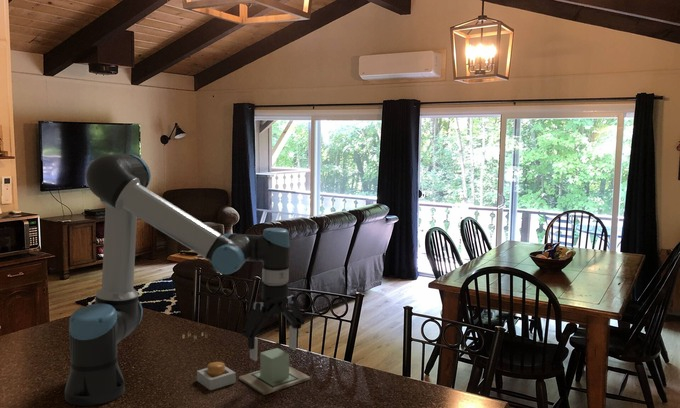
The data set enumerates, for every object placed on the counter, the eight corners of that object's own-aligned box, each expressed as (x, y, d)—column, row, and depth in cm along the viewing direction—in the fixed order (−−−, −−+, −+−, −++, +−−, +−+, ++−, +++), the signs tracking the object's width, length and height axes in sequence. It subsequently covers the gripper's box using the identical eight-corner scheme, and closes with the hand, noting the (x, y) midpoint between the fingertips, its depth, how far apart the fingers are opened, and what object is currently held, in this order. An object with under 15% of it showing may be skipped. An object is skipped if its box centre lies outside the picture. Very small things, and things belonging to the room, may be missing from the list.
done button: (212, 380, 161) (212, 369, 161) (204, 374, 165) (204, 364, 164) (227, 375, 164) (227, 365, 164) (219, 370, 168) (219, 360, 168)
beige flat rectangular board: (264, 394, 157) (264, 391, 157) (239, 379, 167) (239, 376, 167) (309, 379, 168) (310, 376, 168) (283, 365, 177) (283, 362, 177)
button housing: (210, 390, 159) (210, 380, 159) (196, 380, 165) (196, 370, 165) (235, 382, 164) (235, 372, 164) (221, 373, 170) (221, 363, 170)
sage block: (271, 382, 163) (272, 358, 162) (260, 375, 167) (260, 352, 167) (289, 377, 167) (289, 354, 166) (277, 370, 171) (277, 347, 170)
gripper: (244, 292, 153) (243, 368, 155) (317, 279, 169) (315, 348, 172) (230, 285, 158) (229, 359, 161) (302, 273, 175) (300, 340, 177)
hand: (273, 353), depth 166 cm, fingers open, 13 cm apart
